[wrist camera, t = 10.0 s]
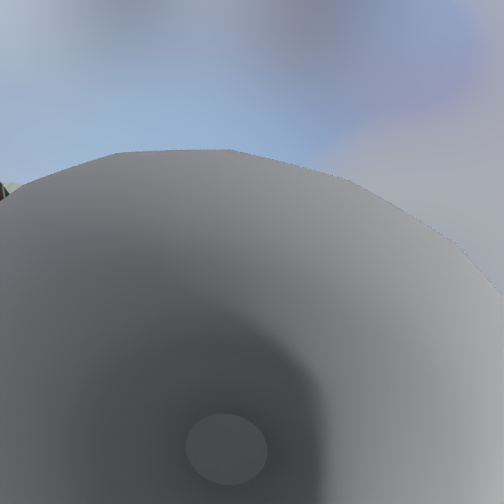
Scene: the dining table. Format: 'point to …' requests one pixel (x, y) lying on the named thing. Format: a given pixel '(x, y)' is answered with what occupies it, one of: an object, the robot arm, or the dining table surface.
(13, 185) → the dining table surface
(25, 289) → the chalice
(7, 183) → the dining table surface
